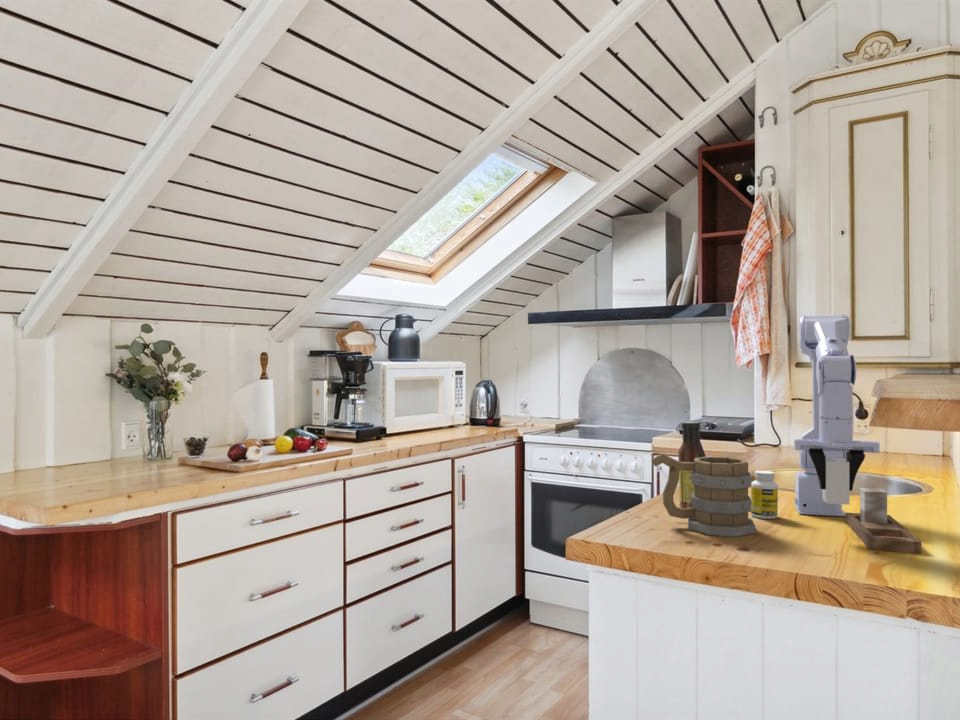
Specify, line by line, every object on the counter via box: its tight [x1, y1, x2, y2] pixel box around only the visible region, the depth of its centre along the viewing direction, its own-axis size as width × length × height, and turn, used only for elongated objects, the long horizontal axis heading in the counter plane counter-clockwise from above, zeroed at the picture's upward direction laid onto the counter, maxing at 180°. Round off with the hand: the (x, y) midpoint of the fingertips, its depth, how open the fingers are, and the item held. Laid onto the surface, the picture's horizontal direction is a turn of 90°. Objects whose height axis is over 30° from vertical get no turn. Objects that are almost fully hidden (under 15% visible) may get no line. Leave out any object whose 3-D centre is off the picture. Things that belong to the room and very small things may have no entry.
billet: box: [823, 458, 850, 505], centre depth 134 cm, size 4×4×8 cm
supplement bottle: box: [750, 470, 779, 520], centre depth 153 cm, size 5×5×10 cm
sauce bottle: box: [678, 421, 707, 508], centre depth 161 cm, size 7×6×20 cm
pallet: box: [845, 487, 922, 554], centre depth 136 cm, size 8×22×8 cm, turn 162°
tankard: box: [651, 452, 756, 538], centre depth 143 cm, size 20×13×15 cm, turn 74°
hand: (835, 489), depth 134 cm, fingers closed on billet, 4 cm apart
